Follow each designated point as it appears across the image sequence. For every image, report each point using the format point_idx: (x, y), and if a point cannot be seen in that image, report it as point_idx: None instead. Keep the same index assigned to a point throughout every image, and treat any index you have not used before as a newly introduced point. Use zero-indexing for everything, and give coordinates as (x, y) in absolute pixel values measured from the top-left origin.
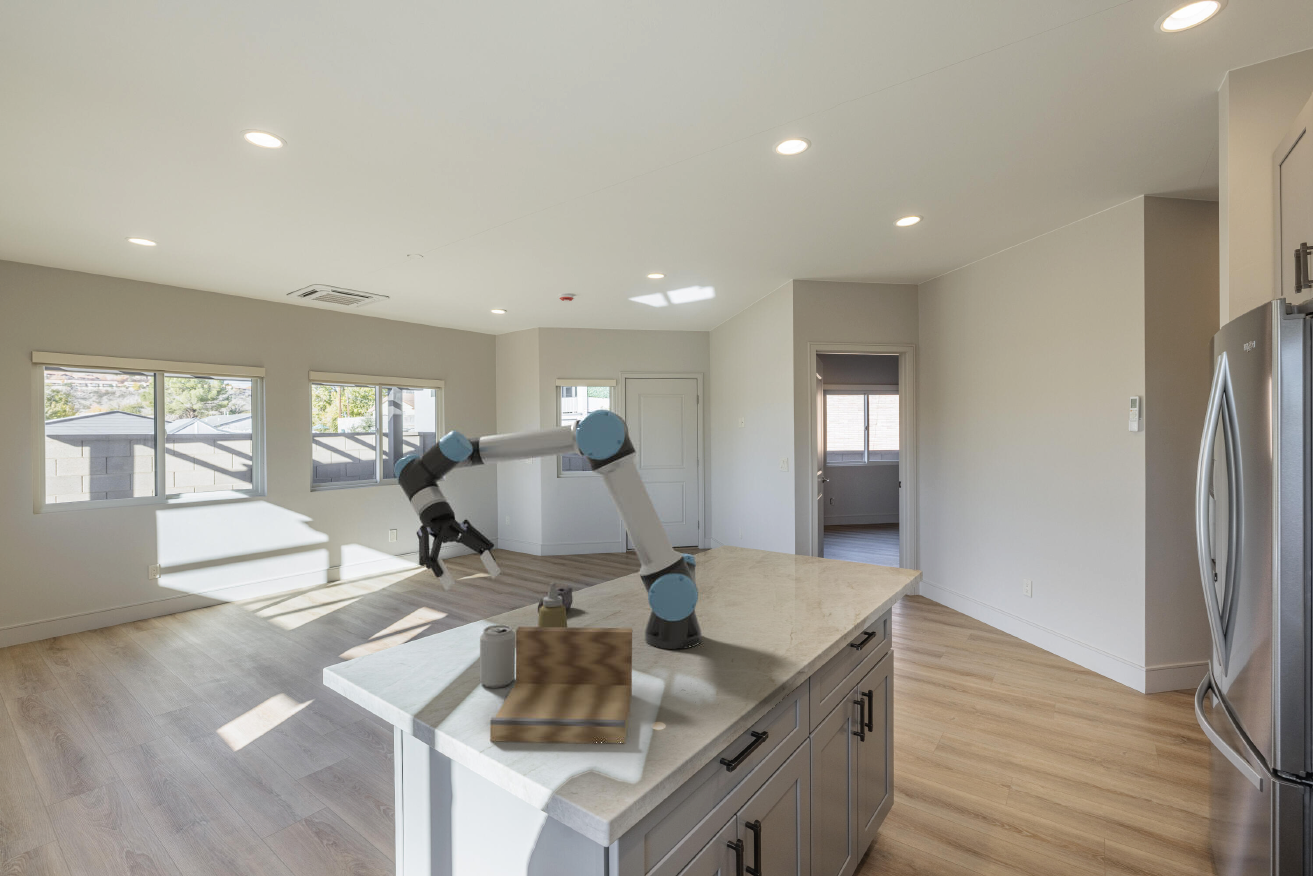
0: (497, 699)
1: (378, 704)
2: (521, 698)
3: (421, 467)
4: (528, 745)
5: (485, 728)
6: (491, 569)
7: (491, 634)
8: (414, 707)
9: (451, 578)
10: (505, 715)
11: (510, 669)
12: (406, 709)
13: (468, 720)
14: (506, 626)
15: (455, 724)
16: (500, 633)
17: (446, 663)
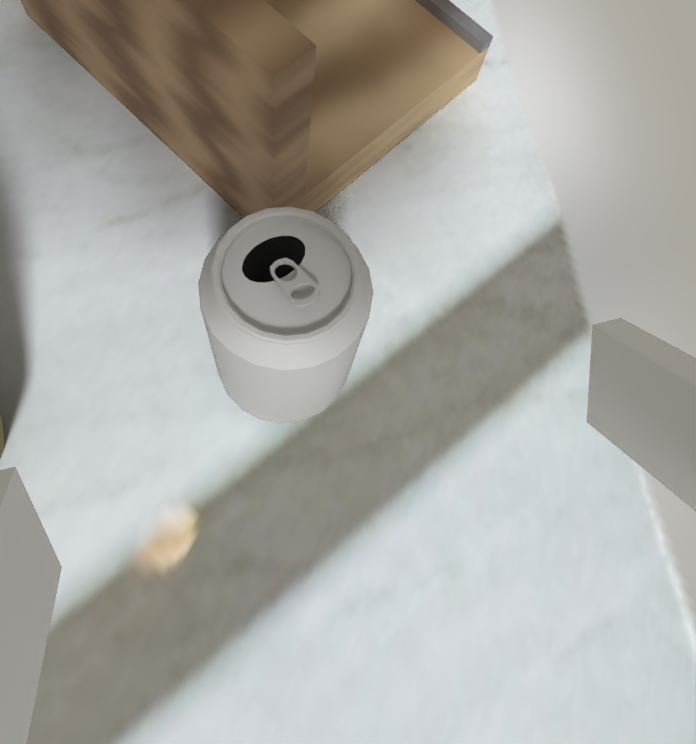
0: None
1: None
2: (349, 102)
3: None
4: None
5: (457, 135)
6: (23, 592)
7: (347, 237)
8: (577, 376)
9: (636, 344)
10: (436, 56)
11: (264, 281)
12: None
13: (476, 199)
14: (222, 289)
15: (512, 203)
16: (310, 211)
17: (348, 703)
